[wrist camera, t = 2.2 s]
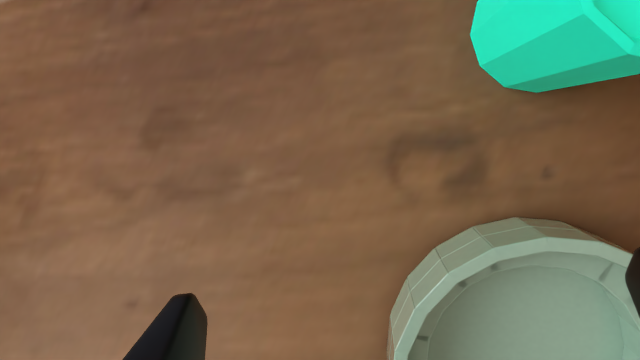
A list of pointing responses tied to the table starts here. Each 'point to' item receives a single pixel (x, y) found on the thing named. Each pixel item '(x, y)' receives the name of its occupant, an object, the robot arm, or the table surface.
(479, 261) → the bowl
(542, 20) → the candle
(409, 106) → the table surface
